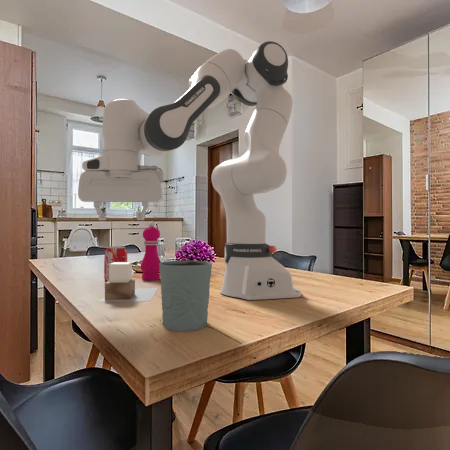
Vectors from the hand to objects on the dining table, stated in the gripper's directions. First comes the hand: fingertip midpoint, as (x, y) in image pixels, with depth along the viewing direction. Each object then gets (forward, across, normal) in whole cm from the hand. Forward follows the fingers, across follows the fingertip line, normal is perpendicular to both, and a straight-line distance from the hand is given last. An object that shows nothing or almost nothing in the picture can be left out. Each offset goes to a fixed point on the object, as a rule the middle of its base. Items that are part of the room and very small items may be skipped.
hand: (121, 220), depth 82 cm
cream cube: (+15, 0, 0) cm, 15 cm away
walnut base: (+19, 0, 0) cm, 19 cm away
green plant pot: (+21, -16, +20) cm, 33 cm away
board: (+20, -2, -3) cm, 21 cm away
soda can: (+21, +7, -24) cm, 32 cm away
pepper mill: (+21, -3, -33) cm, 39 cm away
